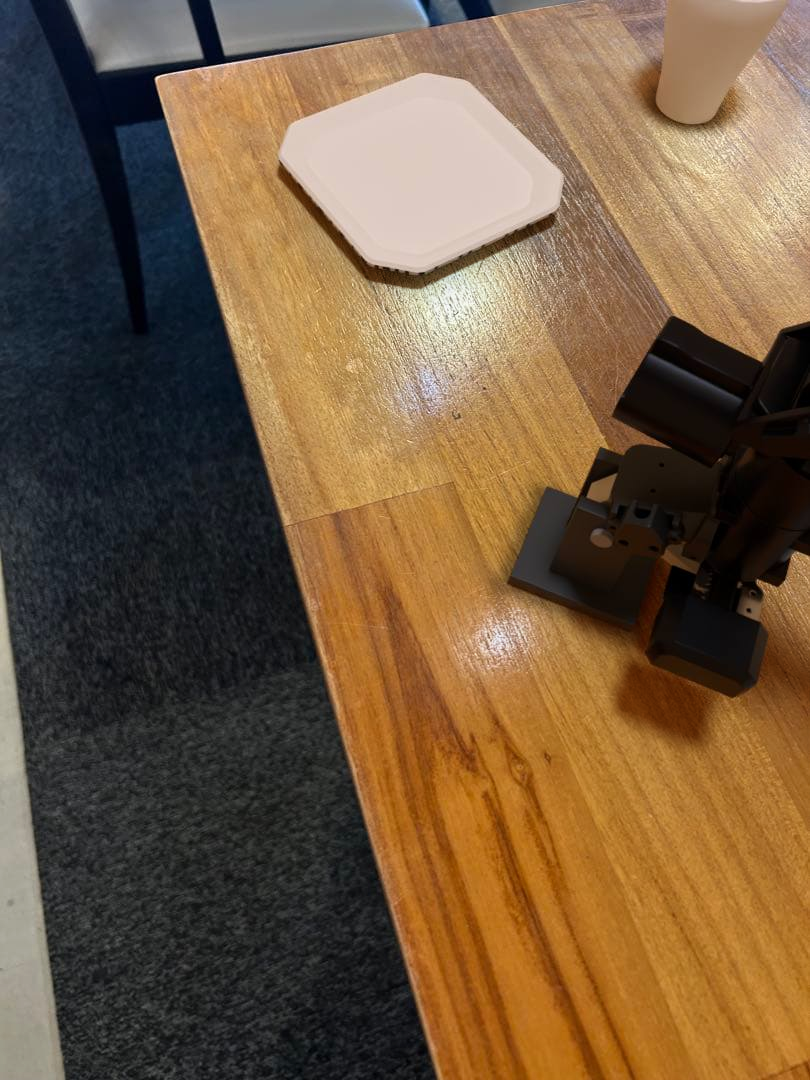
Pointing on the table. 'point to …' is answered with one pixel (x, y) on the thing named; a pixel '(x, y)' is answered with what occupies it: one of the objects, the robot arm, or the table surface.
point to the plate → (420, 173)
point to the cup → (709, 52)
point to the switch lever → (672, 554)
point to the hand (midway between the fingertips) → (686, 600)
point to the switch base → (582, 554)
